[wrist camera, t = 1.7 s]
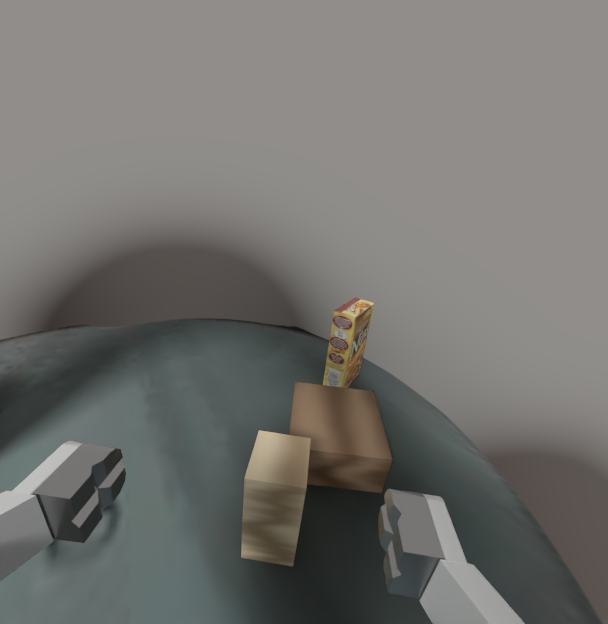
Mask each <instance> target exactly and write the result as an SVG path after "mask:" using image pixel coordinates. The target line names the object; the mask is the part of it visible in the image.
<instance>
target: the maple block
mask: <svg viewBox="0 0 608 624" xmlns="http://www.w3.org/2000/svg"><path fill="white" fill-rule="evenodd" d="M310 441H311V438H305V437H299V436H292V435H286V434H279V433H273V432H266V431H260V430H259V432H258V435H257V439H256V442H255V445H254V448H253V452H252V455H251V458H250V462H249V465H248V468H247V471H246V475H245V478H244V499H243V522H242V546H241V558H246V559H252V560H258V561H264V562H269V563H275V564H281V565H287V566H292V567H293V564H294V559H295V553H296V547H297V541H298V535H299V529H300V523H301V518H302V512H303V506H304V500H305V494H306V488H307V476H308V465H309V453H310Z"/></svg>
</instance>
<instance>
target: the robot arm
mask: <svg viewBox="0 0 608 624" xmlns="http://www.w3.org/2000/svg"><path fill="white" fill-rule="evenodd" d="M122 457H123V456H122V453H121V449H117V448H111V447H105V446H99V445H94V444H88V443H82V442H76V441H68V442H66V443H64V444H62V445H61V446H60V447H59V448H58V449H57V450H56V451H55V452H54V453H53V454H51V455H50V456H49V457H48V458H47V459H46V460H45V461H44V462H43V463H42V464H41V465H40V466H39V467H37V468H36V469H35V470H34V471H33V472H32V473H31V474H30V475H29V476H28V477H27V478H26V479H24V480H23V481H22V482H21V483H20V484H19V485H18V486H17V487H16V488H15V489H14V490H13V491H5V492H3V493H1V494H0V581H1V580H3V579H4V578H5V577H7V576H8V575H9V574H11V573H12V572H13V571H15V570H16V569H17V568H19V567H20V566H21V565H23V564H24V563H25V562H27V561H28V560H29V559H31V558H32V557H33V556H35V555H36V554H37V553H39V552H40V551H41V550H43V549H44V548H45V547H47V546H48V545H49V544H50V543H52V542H53V541H54V540H53V539H57V540H65V541H73V542H80V543H85V541H86V540H87V538H88V537H89V536H90V534H91V533H92V531H93V530H94V528H95V527H96V526H97V524H98V523H99V521H100V520H101V519H102V514H103V508H105V507H106V506H108V505H109V504H111V503H112V502H114V500H115V499H116V497H117V496H118V494H119V493H120V491H121V489H122V486H123V484H124V482H125V475H126V472H125V467H124V466H123V465H122V464H121V463H120V462H119V461H120V460H121V458H122ZM384 498H385V504H384V505H383V506H381V509H380V512H379V520H378V530H379V539H380V544H381V546H382V547H383V549H384V550H385V552H386V555H385V557H384V560H383V567H384V574H385V581H386V587H387V593H391V594H396V595H401V596H407V597H412V598H417V599H420V603H421V605H422V606H423V608H424V610H425V612H426V613H427V615H428V617H429V618H430V620H431V622H432V624H525V623H524V622H523V621H522V620H521V619H520V618H519V616H518V615H517V614H516V613H515V612H514V611H513V609H512V608H511V607H510V606H509V605H508V604H507V603H506V601H505V600H504V599H503V598H502V597H501V596H500V595H499V593H498V592H497V591H496V590H495V589H494V588H493V586H492V585H491V584H490V583H489V582H488V581H487V580H486V578H485V577H484V576H483V575H482V574H481V573H480V572H479V570H478V569H477V568H476V567H475V566H474V565H473V564H469V563H467V561H466V558H465V555H464V553H463V550H462V547H461V545H460V542H459V540H458V537H457V534H456V532H455V529H454V526H453V524H452V521H451V519H450V516H449V513H448V511H447V508H446V505H445V503H444V500H443V499H442V498H441V497H440V496H434V495H427V494H421V493H417V492H409V491H402V490H394V489H388V490H387V491H386V493H385V496H384Z"/></svg>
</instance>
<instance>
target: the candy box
mask: <svg viewBox="0 0 608 624" xmlns="http://www.w3.org/2000/svg"><path fill="white" fill-rule="evenodd" d="M373 306H374V303H371V302H368V301H365V300H361V299H358V298H354V299H352V300H351V301H349V302H348V303H346V304H344V305H343V306H341V307H340V308H338V309H336V310H334V314H333V321H332V327H331V334H330V340H329V347H328V354H327V360H326V367H325V373H324V379H323V385H326V386H334V387H343V388H348V386H349V385H350V384H351V383H352V381H353V380H354V379H355V378H356V376H357V375H358V374H359V372H360V367H361V362H362V358H363V353H364V348H365V343H366V339H367V334H368V329H369V325H370V319H371V314H372V311H373Z"/></svg>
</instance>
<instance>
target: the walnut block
mask: <svg viewBox="0 0 608 624" xmlns="http://www.w3.org/2000/svg"><path fill="white" fill-rule="evenodd" d="M289 435H292V436H299V437H305V438H311V441H310V453H309V465H308V476H307V484H309V485H317V486H326V487H334V488H343V489H351V490H359V491H368V492H376V493H382V491H383V488H384V485H385V482H386V479H387V475H388V472H389V469H390V466H391V463H392V460H393V459H392V456H391V452H390V448H389V445H388V441H387V437H386V434H385V430H384V427H383V423H382V419H381V416H380V412H379V408H378V405H377V401H376V398H375V394H374V391H368V390H359V389H351V388H343V387H334V386H326V385H318V384H310V383H301V382H295V388H294V397H293V405H292V413H291V421H290V430H289Z"/></svg>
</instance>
